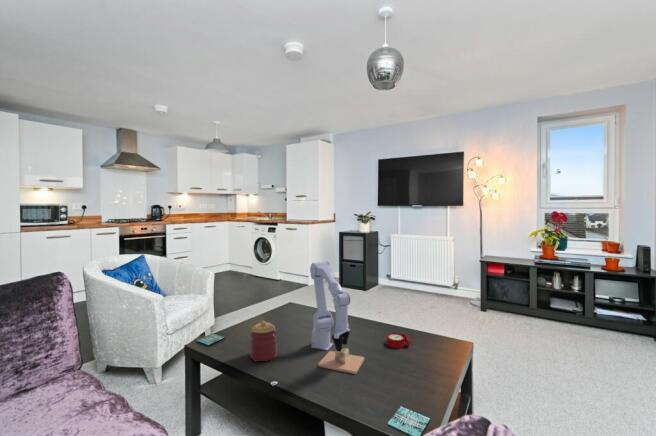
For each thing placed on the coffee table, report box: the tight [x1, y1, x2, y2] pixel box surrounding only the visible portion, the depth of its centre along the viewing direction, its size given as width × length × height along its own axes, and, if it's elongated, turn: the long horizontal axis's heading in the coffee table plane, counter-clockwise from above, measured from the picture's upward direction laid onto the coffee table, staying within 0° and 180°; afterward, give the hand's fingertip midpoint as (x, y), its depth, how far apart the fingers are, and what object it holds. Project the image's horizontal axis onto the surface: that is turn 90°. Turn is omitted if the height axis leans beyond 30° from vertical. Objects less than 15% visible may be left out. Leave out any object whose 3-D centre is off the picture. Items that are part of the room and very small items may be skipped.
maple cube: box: [334, 347, 350, 364], centre depth 146 cm, size 5×5×5 cm
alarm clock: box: [382, 332, 414, 349], centre depth 166 cm, size 10×6×15 cm
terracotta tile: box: [317, 350, 365, 375], centre depth 146 cm, size 18×14×1 cm
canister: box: [249, 320, 278, 362], centre depth 153 cm, size 13×13×18 cm
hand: (341, 347), depth 146 cm, fingers open, 7 cm apart
